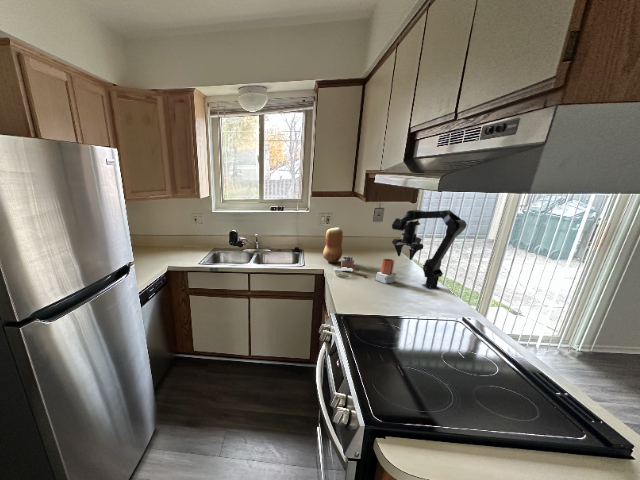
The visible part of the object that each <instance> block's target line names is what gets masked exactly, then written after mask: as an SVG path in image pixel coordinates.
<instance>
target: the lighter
mask: <svg viewBox="0 0 640 480" xmlns="http://www.w3.org/2000/svg"><path fill="white" fill-rule="evenodd" d="M353 258H354V256H353V257H352V256H349V255H348V256H342V259H341V265H340V268H341V267H347V268H352V269H353V270H354V265H355V260H354V259H353Z"/></svg>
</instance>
